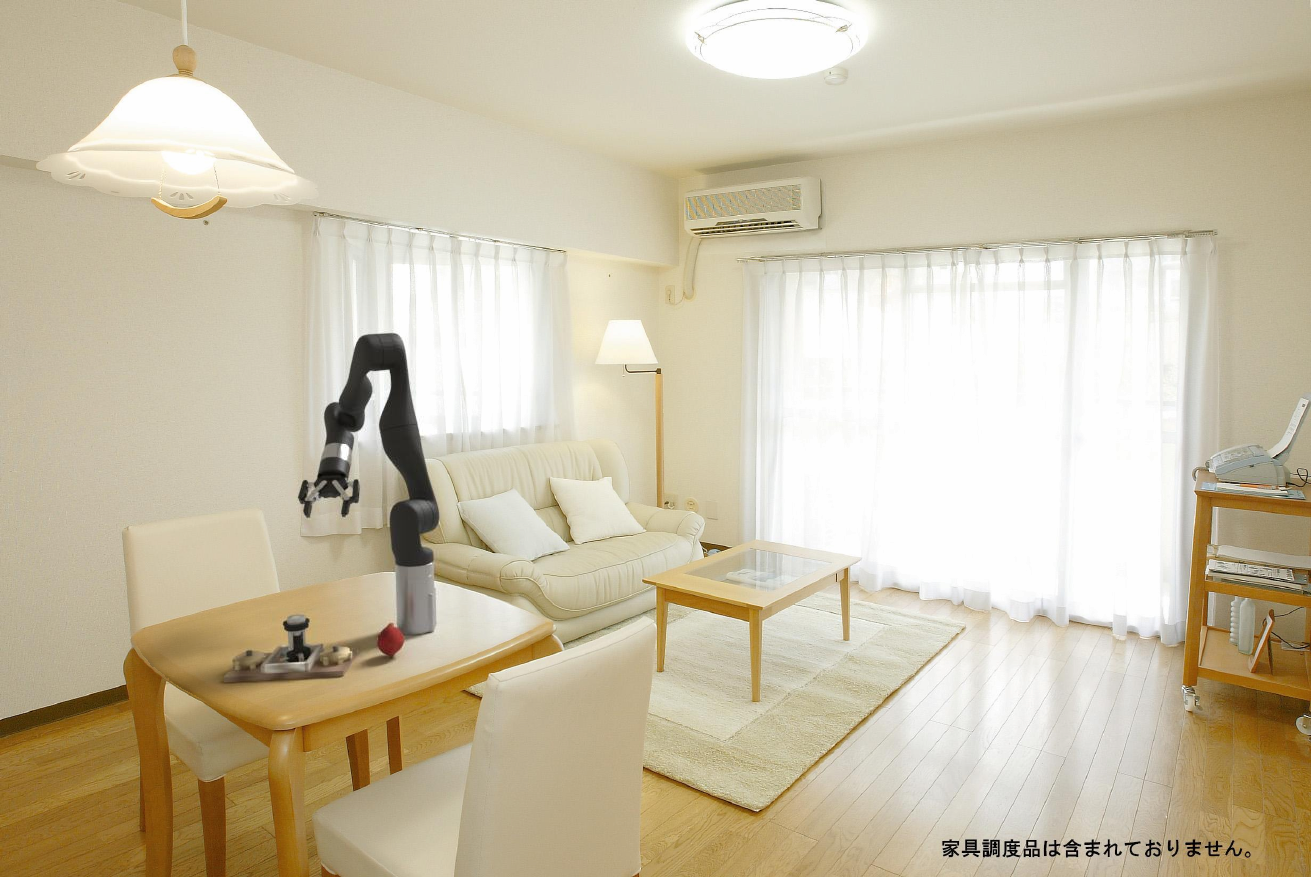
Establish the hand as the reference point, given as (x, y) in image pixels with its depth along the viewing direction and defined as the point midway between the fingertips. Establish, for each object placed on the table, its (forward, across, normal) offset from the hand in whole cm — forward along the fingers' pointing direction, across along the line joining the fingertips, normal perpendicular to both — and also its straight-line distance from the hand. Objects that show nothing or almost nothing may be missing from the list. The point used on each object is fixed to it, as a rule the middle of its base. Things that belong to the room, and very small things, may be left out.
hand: (325, 515), depth 192 cm
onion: (+36, +19, +4) cm, 41 cm away
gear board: (+39, -1, +2) cm, 39 cm away
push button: (+38, -1, +1) cm, 38 cm away
